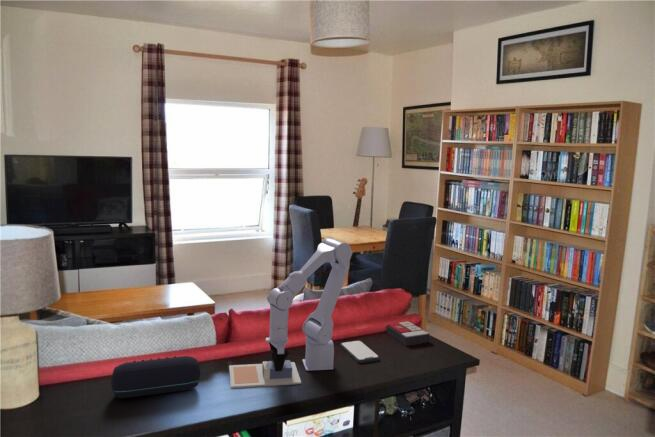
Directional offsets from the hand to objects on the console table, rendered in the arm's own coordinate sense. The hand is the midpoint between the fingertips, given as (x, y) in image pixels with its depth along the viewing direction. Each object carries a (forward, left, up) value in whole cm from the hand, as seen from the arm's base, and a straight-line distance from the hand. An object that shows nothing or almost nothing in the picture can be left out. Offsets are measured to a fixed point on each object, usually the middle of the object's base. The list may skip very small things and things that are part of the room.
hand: (277, 365), depth 168 cm
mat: (+4, -1, -4) cm, 6 cm away
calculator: (-55, -26, -5) cm, 61 cm away
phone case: (-32, -14, -5) cm, 35 cm away
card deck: (0, 0, -3) cm, 3 cm away
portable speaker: (+37, +5, -4) cm, 37 cm away
